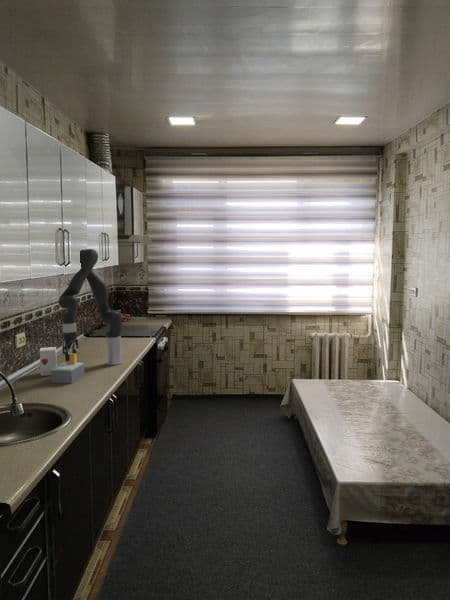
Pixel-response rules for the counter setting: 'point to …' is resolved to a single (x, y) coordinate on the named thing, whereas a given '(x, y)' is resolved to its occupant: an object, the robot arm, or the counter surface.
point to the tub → (67, 375)
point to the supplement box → (47, 360)
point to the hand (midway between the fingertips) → (71, 359)
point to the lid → (68, 364)
